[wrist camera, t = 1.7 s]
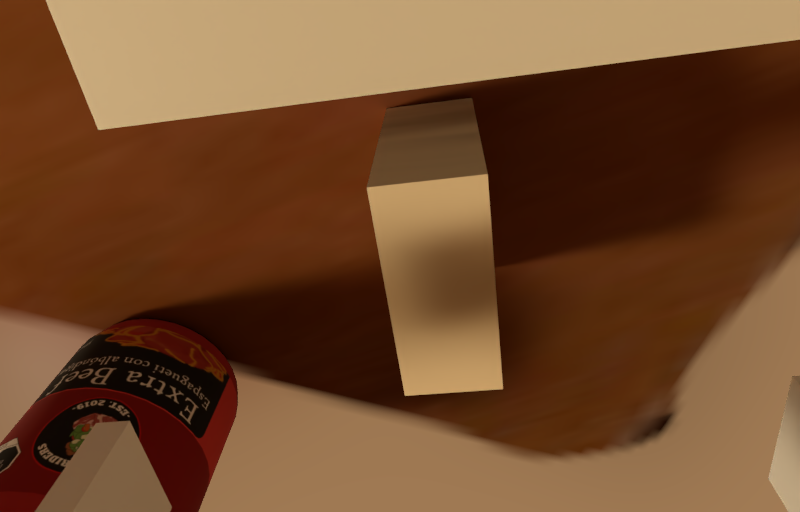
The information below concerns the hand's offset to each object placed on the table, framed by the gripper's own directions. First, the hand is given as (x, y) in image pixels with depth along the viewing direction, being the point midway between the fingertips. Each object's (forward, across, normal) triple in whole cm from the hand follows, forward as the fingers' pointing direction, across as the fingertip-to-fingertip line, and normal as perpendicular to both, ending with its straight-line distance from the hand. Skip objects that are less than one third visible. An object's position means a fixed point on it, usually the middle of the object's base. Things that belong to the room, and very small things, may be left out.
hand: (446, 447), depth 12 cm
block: (+12, 0, +1) cm, 12 cm away
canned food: (+12, -14, -7) cm, 20 cm away
